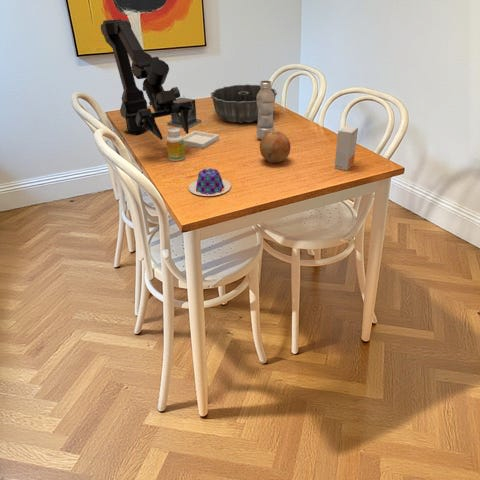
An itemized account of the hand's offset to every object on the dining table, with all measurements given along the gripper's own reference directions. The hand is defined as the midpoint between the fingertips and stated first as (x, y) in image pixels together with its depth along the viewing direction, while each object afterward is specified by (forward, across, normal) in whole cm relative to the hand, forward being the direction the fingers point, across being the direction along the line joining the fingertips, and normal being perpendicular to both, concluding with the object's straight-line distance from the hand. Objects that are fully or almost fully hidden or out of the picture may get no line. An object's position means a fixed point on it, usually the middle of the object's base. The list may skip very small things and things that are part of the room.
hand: (175, 136), depth 146 cm
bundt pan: (-12, +43, +23) cm, 50 cm away
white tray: (-1, +13, +12) cm, 18 cm away
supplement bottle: (+5, 0, +6) cm, 8 cm away
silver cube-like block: (-17, +19, +28) cm, 38 cm away
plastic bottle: (+7, +34, +4) cm, 35 cm away
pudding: (+24, -2, -12) cm, 27 cm away
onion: (+20, +24, -9) cm, 33 cm away
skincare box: (+32, +39, -20) cm, 54 cm away
